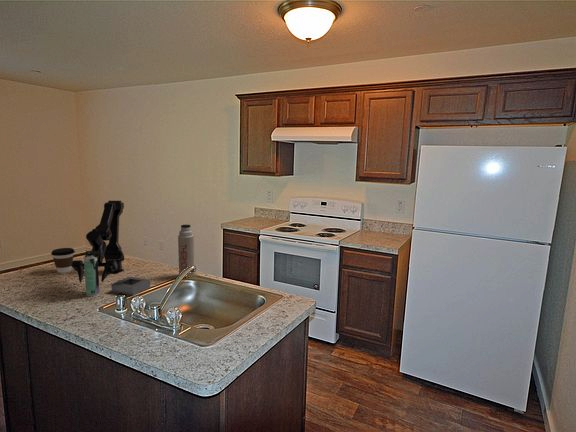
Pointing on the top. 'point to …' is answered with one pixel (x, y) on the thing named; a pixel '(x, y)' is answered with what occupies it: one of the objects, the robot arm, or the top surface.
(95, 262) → the spray can
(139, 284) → the collar
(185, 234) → the thermos bottle
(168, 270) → the top surface
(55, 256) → the coffee cup
